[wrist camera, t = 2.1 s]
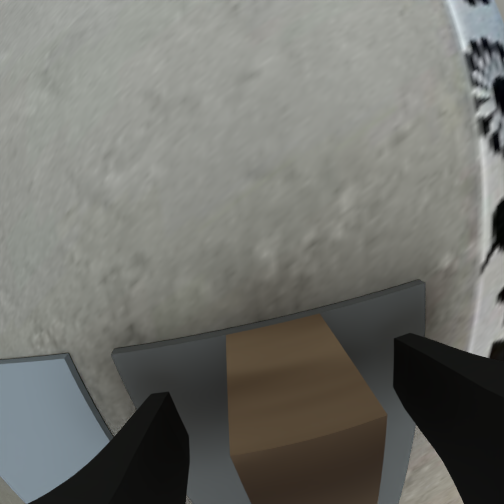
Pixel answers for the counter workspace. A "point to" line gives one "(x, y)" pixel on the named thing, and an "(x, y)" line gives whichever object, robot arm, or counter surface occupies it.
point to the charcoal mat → (210, 386)
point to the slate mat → (45, 424)
